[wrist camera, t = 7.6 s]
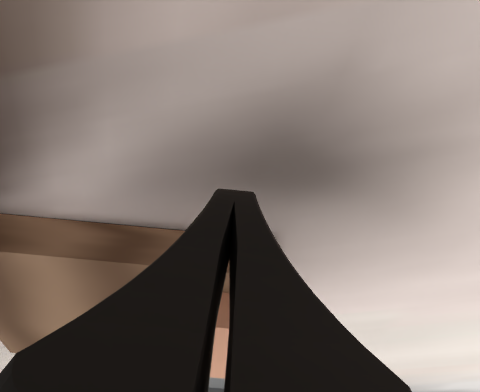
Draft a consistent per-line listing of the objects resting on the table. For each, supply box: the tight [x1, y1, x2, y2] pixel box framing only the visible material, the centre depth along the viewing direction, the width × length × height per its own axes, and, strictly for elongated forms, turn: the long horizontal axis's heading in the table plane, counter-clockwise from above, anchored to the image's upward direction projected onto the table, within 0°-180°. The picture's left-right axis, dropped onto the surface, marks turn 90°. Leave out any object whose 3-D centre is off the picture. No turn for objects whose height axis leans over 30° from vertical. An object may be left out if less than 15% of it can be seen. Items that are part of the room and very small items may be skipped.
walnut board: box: [0, 214, 229, 353], centre depth 16 cm, size 16×10×2 cm, turn 85°
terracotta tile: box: [210, 292, 229, 379], centre depth 14 cm, size 5×5×2 cm
